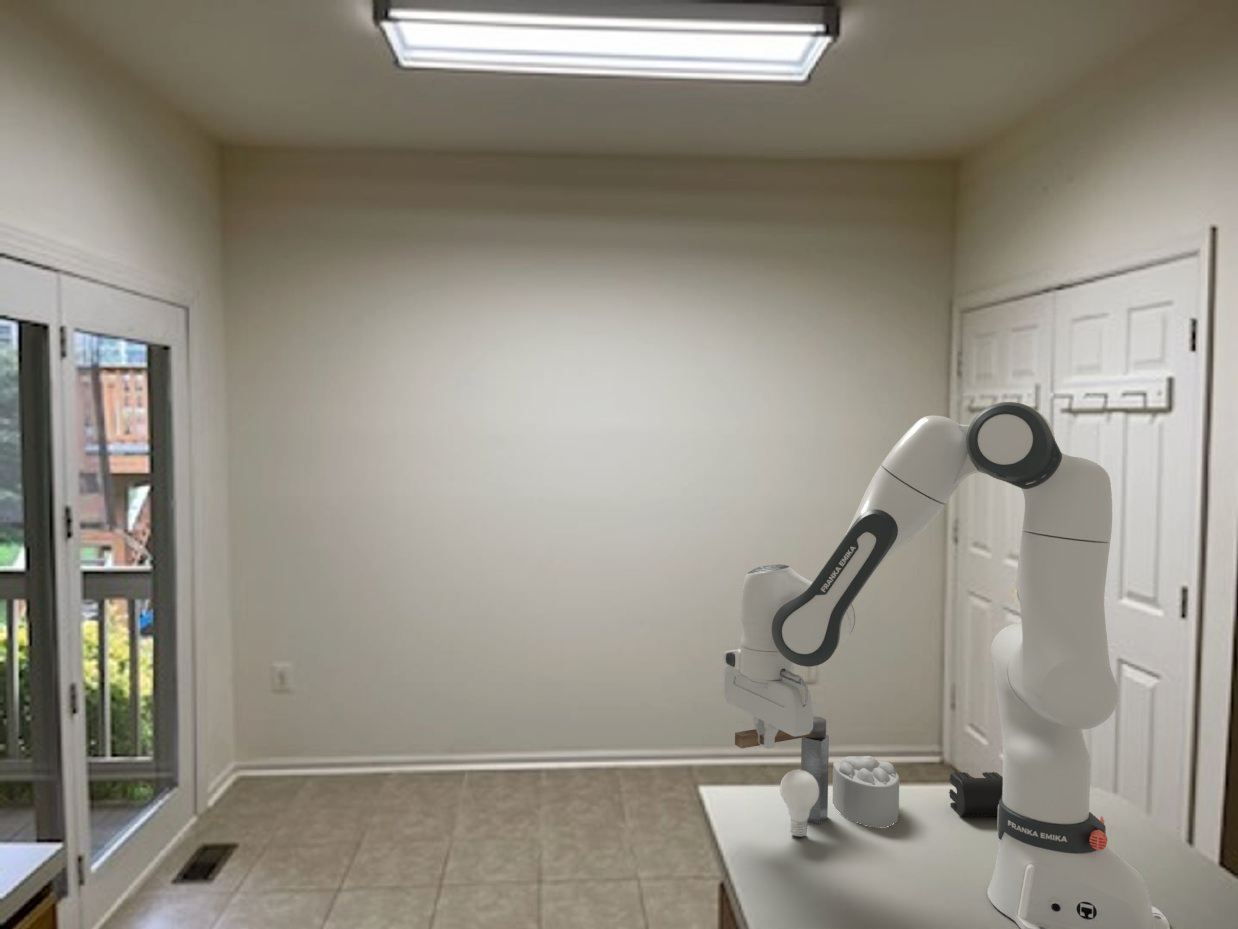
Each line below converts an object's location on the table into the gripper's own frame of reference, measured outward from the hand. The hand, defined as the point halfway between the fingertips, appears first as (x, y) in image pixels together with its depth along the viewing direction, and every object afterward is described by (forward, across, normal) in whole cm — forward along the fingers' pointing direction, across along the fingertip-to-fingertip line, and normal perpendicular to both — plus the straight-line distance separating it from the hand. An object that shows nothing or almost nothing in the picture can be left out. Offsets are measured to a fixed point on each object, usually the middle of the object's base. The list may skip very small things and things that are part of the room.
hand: (766, 746), depth 141 cm
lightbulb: (+15, -2, -5) cm, 16 cm away
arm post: (+15, +2, -12) cm, 19 cm away
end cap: (+16, -9, -40) cm, 44 cm away
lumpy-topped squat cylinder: (+16, 0, -22) cm, 27 cm away
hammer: (0, +2, -5) cm, 5 cm away
